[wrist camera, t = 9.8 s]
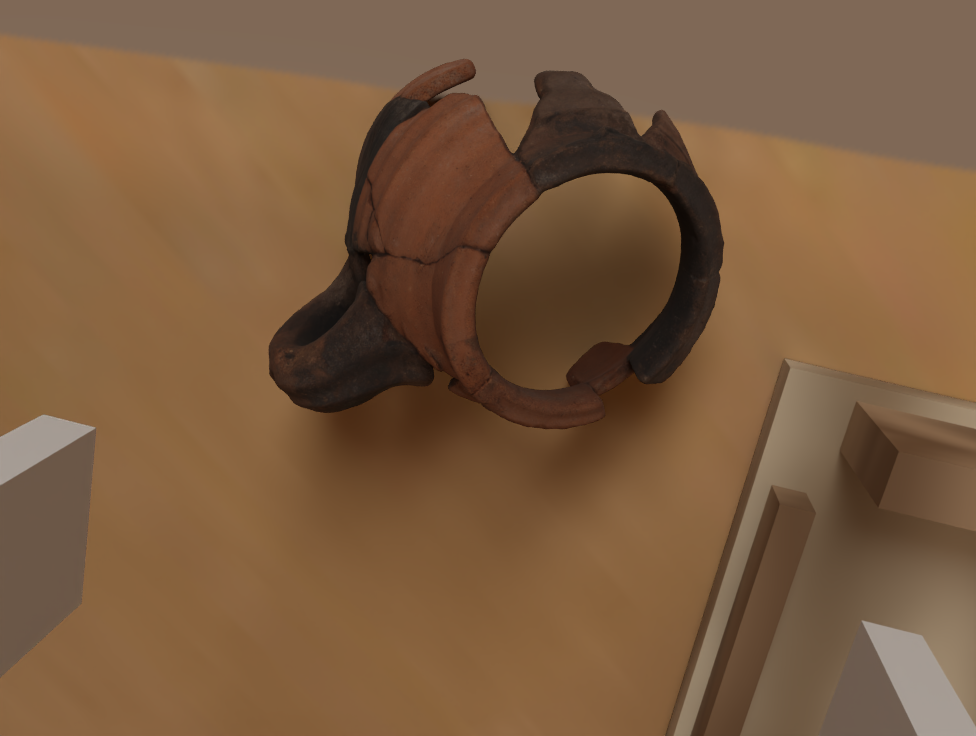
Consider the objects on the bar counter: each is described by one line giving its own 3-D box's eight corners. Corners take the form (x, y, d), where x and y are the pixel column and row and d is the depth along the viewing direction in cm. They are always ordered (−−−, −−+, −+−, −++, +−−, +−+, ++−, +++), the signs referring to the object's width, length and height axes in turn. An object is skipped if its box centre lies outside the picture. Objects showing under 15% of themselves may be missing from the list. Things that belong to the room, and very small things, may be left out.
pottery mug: (514, -37, 25) (664, 2, 18) (653, 217, 30) (808, 320, 24) (171, 230, 25) (192, 367, 18) (369, 436, 31) (442, 601, 24)
